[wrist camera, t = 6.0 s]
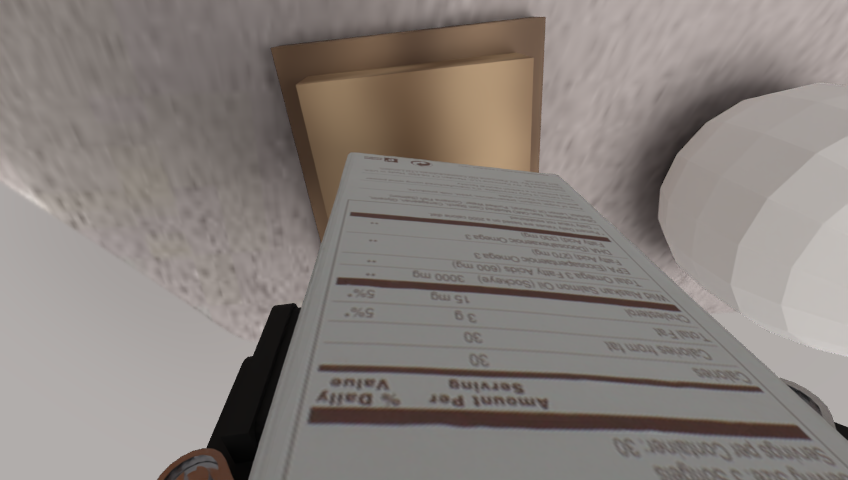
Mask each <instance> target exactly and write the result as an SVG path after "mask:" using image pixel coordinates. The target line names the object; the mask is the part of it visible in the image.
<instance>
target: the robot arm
mask: <svg viewBox="0 0 848 480" xmlns="http://www.w3.org/2000/svg"><path fill="white" fill-rule="evenodd" d="M300 311H301V308H298V307H297V305H296V304H295V303H292V304H284V305H276V306H273V308H272V310H271V312H270V315H269V317H268V320H267V322H266V325H265V327H264V330H263V332H262V335H261V337H260V340H259V342H258V345H257V347H256V350H255V352H254V355H253V356H251V357H247V358H246V359H245V360H244V362H243V363H242V366H241V368H240V370H239V373H238V375H237V377H236V380H235V382H234V385H233V387H232V389H231V391H230V394H229V396H228V398H227V401H226V403H225V405H224V408H223V410H222V413H221V415H220V417H219V420H218V422H217V424H216V427H215V429H214V431H213V434H212V436H211V438H210V441H209V443H208V446H207V448H203V449H199V450H195V451H192V452H190V453H188V454H186V455H184V456H182V457H180V458H179V459H177V460H176V461H175V462H173V463H172V464H170V465H169V467H167V468H166V470H165V471H164V472H163V473H162V474H161V475H160V476H159V478H158V479H157V480H248V479H249V476H250V472H251V469H252V466H253V462H254V459H255V455H256V452H257V449H258V446H259V442H260V439H261V436H262V433H263V430H264V426H265V423H266V420H267V417H268V414H269V410H270V407H271V404H272V401H273V397H274V394H275V391H276V387H277V384H278V381H279V378H280V374H281V371H282V368H283V365H284V361H285V358H286V355H287V352H288V349H289V345H290V342H291V339H292V336H293V333H294V329H295V326H296V323H297V320H298V317H299V314H300ZM780 379H781V380H782V381H783V382H784V383H785V384H786V385H787V386H788V387H790V388H791V389H792V390H793V391H794V392H795V393H796V394H797V395H798V396H799V397H800V398H801V399H802V400H804V401H805V402H806V403H807V404H808V405H809V406H810V407H811V408H813V409H814V410H815V411H816V412H817V413H818V414H819V415H820V416H821V417H822V418H824V419H825V420H826V421H827V422H828V423H829V424H830V425H831V426H832V427H833V428H834V429H835V430H836V431H838V432H839V433H840V434H841V435H842V436H843V437H844V438H845V439H846V440H848V427H846V426H843V425H840V424H838V423H835V422H834V420H833V417H832V415H831V413H830V411H829V409H828V407H827V406H826V405H825V404H824V403H823V402H822V401H821V400H820V399H819V398H818V397H817V396H816V395H814V394H813V393H811V392H810V391H809V390H807V389H806V388H804V387H802V386H800V385H798V384H796V383H794V382H791V381H788V380H785V379H782V378H780Z"/></svg>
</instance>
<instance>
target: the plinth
mask: <svg viewBox="0 0 848 480" xmlns="http://www.w3.org/2000/svg"><path fill="white" fill-rule="evenodd" d="M545 19H546V17H529V18H520V19H511V20H502V21H494V22H485V23H476V24H467V25H458V26H449V27H441V28H432V29H423V30H414V31H405V32H396V33H388V34H379V35H370V36H361V37H352V38H343V39H335V40H326V41H317V42H308V43H299V44H290V45H282V46H277V47H273V48H271V52H272V55H273V59H274V63H275V67H276V71H277V75H278V79H279V82H280V86H281V90H282V94H283V98H284V102H285V106H286V109H287V113H288V117H289V121H290V125H291V129H292V133H293V137H294V140H295V144H296V148H297V152H298V156H299V160H300V164H301V167H302V171H303V175H304V179H305V183H306V187H307V191H308V194H309V198H310V202H311V206H312V210H313V214H314V218H315V221H316V225H317V229H318V233H319V237H320V241H321V243H322V240H323V236H324V233H325V230H326V227H327V224H328V220H329V217H330V214H331V211H332V208H333V204H334V201H335V198H336V195H337V192H338V188H339V185H340V181H341V177H342V173H343V169H344V166H345V163H346V160H347V156H348V154H349V153H351V152H356V153H366V154H375V155H383V156H395V157H403V158H413V159H422V160H430V161H439V162H448V163H457V164H467V165H473V166H483V167H492V168H501V169H510V170H519V171H528V172H535V173H539V152H540V130H541V108H542V85H543V63H544V41H545Z"/></svg>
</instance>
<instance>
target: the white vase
mask: <svg viewBox="0 0 848 480" xmlns="http://www.w3.org/2000/svg"><path fill="white" fill-rule="evenodd" d="M658 220H659V222H660V225H661V228H662V231H663V233H664V236H665V238H666V241H667V243H668V245H669V248H670V250H671V252H672V254H673V257H674V259H675V261H676V263H677V264H678V265H679V266H680V267H681V268H682V269H683V270H684V271H685V272H686V273H687V274H688V275H690V276H691V277H692V278H693V279H694V280H695V281H696V282H697V283H698V284H699V285H700V286H702V287H703V288H704V289H705V290H707V291H708V292H710V293H711V294H713V295H714V296H716V297H717V298H718V299H720V300H721V301H723V302H724V303H726V304H727V305H729V306H730V307H732V308H733V309H734V310H736V311H737V312H739V313H740V314H742V315H743V316H745V317H746V318H748V319H750V320H751V321H753V322H754V323H756V324H757V325H759V326H761V327H762V328H763V329H765V330H766V331H769V332H771V333H774V334H777V335H780V336H782V337H785V338H787V339H790V340H793V341H795V342H798V343H800V344H803V345H806V346H808V347H811V348H814V349H818V350H822V351H827V352H831V353H834V354H838V355H843V356H846V357H848V86H846V85H838V84H830V83H822V82H819V83H815V84H810V85H806V86H802V87H797V88H793V89H788V90H784V91H780V92H776V93H771V94H767V95H763V96H759V97H754V98H750V99H746V100H743V101H741V102H739V103H738V104H736V105H734V106H733V107H731V108H729V109H728V110H726V111H724V112H723V113H721V114H720V115H718V116H716V117H715V118H713V119H711V120H710V121H708V122H706V123H705V124H704V125H703V126H702V128H701V129H700V130H699V131H698V132H697V133H696V134H695V135H694V136H693V137H692V138H691V139H690V140H689V142H688V143H687V144H686V145H685V146H684V147H683V148H682V149H681V150H680V151H679V152H678V153H677V155H676V157H675V159H674V161H673V163H672V165H671V167H670V169H669V171H668V173H667V175H666V177H665V179H664V181H663V184H662V186H661V188H660V199H659V211H658Z"/></svg>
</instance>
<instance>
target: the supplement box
mask: <svg viewBox="0 0 848 480" xmlns="http://www.w3.org/2000/svg"><path fill="white" fill-rule="evenodd" d="M248 480H848V440H846V439H845V438H844V437H843V436H842V435H841V434H840V433H839V432H838V431H836V430H835V429H834V428H833V427H832V426H831V425H830V424H829V423H828V422H827V421H826V420H825V419H824V418H822V417H821V416H820V415H819V414H818V413H817V412H816V411H815V410H814V409H813V408H811V407H810V406H809V405H808V404H807V403H806V402H805V401H804V400H802V399H801V398H800V397H799V396H798V395H797V394H796V393H795V392H794V391H793V390H792V389H791V388H790V387H788V386H787V385H786V384H785V383H784V382H783V381H782V380H781V379H780V378H779V377H778V376H777V375H776V374H774V373H773V372H772V371H771V370H770V369H769V368H768V367H767V366H766V365H765V364H764V363H762V362H761V361H760V360H759V359H758V358H757V357H756V356H755V355H754V354H753V353H751V352H750V351H749V350H748V349H747V348H746V347H745V346H744V345H743V344H742V343H740V342H739V341H738V340H737V339H736V338H735V337H734V336H733V335H732V334H731V333H730V332H728V331H727V330H726V329H725V328H724V327H723V326H722V325H721V324H720V323H719V322H717V321H716V320H715V319H714V318H713V317H712V316H711V315H710V314H709V313H708V312H706V311H705V310H704V309H703V308H702V307H701V306H700V305H698V304H697V303H696V302H695V301H694V300H693V299H692V298H691V297H690V296H689V295H688V294H687V293H685V292H684V291H683V290H682V289H681V288H680V287H679V286H678V285H677V284H676V283H675V282H674V281H673V280H672V279H670V278H669V277H668V276H667V275H666V274H665V273H664V272H663V271H662V270H661V269H659V268H658V267H657V266H656V265H655V264H654V263H653V262H652V261H651V260H650V259H649V258H648V257H647V256H646V255H644V254H643V253H642V252H641V251H640V250H639V249H638V248H637V247H636V246H635V245H634V244H633V243H631V242H630V241H629V240H628V239H627V238H626V237H625V236H624V235H623V234H622V233H621V232H620V231H619V230H618V229H617V228H616V227H614V226H613V225H612V224H611V223H610V222H609V221H607V220H606V219H605V218H604V217H603V216H602V215H601V214H600V213H599V212H598V211H597V210H596V209H595V208H594V207H593V206H591V205H590V204H589V203H588V202H587V201H586V200H585V199H584V198H583V197H582V196H581V195H579V194H578V193H577V192H576V191H575V190H574V189H573V188H572V187H571V186H570V185H569V184H567V183H566V182H565V181H564V180H563V179H562V178H561V177H559V176H558V175H556V174H545V173H535V172H528V171H519V170H510V169H501V168H492V167H483V166H473V165H467V164H457V163H448V162H439V161H430V160H422V159H413V158H403V157H395V156H383V155H375V154H366V153H356V152H351V153H349V154H348V156H347V160H346V163H345V166H344V169H343V173H342V177H341V181H340V185H339V188H338V192H337V195H336V198H335V201H334V204H333V208H332V211H331V214H330V217H329V220H328V224H327V227H326V230H325V233H324V236H323V240H322V243H321V246H320V249H319V253H318V256H317V259H316V262H315V266H314V269H313V272H312V275H311V279H310V282H309V285H308V288H307V292H306V295H305V298H304V301H303V304H302V307H301V311H300V314H299V317H298V320H297V323H296V326H295V329H294V333H293V336H292V339H291V342H290V345H289V349H288V352H287V355H286V358H285V361H284V365H283V368H282V371H281V374H280V378H279V381H278V384H277V387H276V391H275V394H274V397H273V401H272V404H271V407H270V410H269V414H268V417H267V420H266V423H265V426H264V430H263V433H262V436H261V439H260V442H259V446H258V449H257V452H256V455H255V459H254V462H253V466H252V469H251V472H250V476H249V479H248Z"/></svg>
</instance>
